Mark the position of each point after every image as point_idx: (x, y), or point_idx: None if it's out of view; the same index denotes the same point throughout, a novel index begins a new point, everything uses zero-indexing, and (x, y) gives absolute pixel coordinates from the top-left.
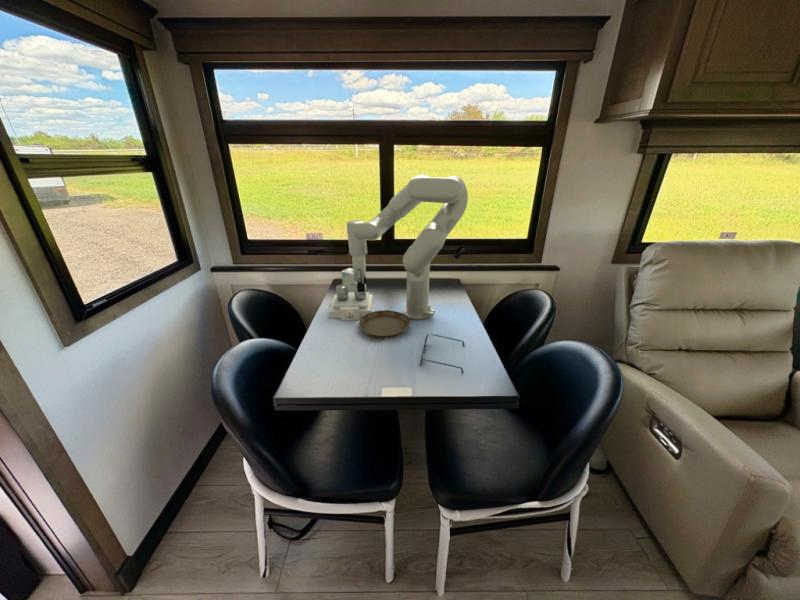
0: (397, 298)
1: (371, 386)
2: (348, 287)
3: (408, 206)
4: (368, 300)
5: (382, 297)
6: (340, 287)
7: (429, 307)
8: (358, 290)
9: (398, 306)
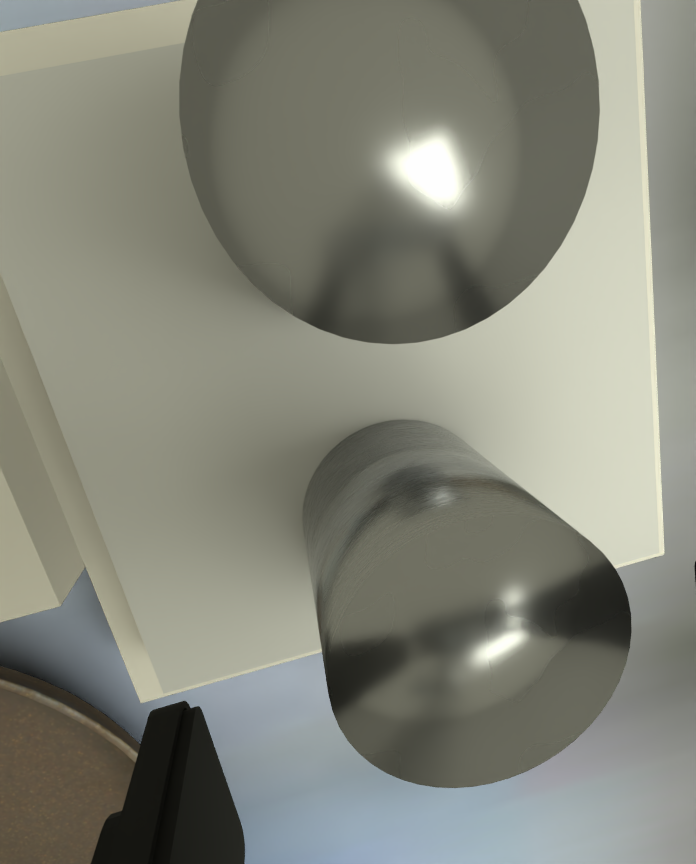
0: (647, 742)
1: None
2: None
3: None
4: None
5: (673, 599)
6: (309, 96)
7: None
8: (152, 759)
9: (462, 803)
